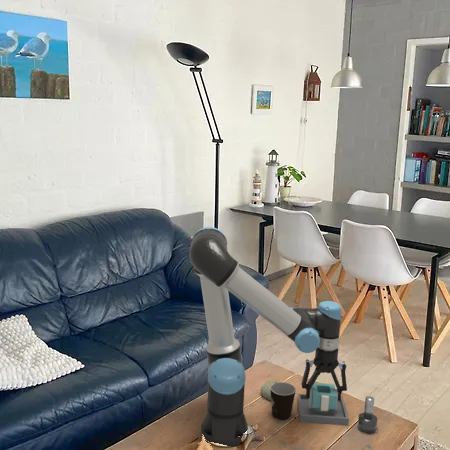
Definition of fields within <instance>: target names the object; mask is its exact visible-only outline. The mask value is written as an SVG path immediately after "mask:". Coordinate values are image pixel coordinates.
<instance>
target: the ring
mask: <svg viewBox="0 0 450 450" xmlns="http://www.w3.org/2000/svg"><path fill="white" fill-rule="evenodd" d="M335 386H336V385H335V383H324V382H315V383H314V384H313V386H312V408H321V411H328V409H336V403H337V394H336V390H335V389H336V387H335Z"/></svg>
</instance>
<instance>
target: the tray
mask: <svg viewBox="0 0 450 450" xmlns="http://www.w3.org/2000/svg"><path fill="white" fill-rule="evenodd" d="M308 402H309V398H307V397H306V393H297V406H298V415H299V423H310V424H324V425H326V424H327V425H340V426H349V420H350V419H349V415H348V411H347V407H346V403H345V401H344V397H343V396H342V395H341V399H340V400H337V410H334V409H328V411H321V408H312V405H311V408H309V405H308Z"/></svg>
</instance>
